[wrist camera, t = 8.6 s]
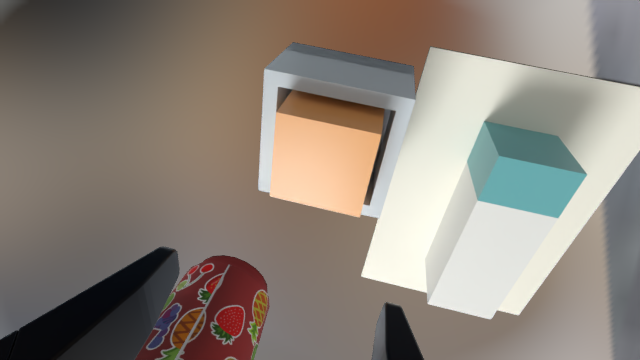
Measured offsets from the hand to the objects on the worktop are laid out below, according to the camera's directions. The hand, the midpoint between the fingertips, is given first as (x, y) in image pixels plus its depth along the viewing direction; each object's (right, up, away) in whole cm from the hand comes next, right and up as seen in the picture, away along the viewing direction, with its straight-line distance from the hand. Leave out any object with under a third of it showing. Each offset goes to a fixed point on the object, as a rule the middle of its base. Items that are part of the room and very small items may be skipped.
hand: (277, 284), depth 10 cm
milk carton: (+10, +1, +11) cm, 15 cm away
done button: (+2, +5, +7) cm, 9 cm away
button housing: (+2, +7, +10) cm, 12 cm away
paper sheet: (+11, +1, +11) cm, 16 cm away
